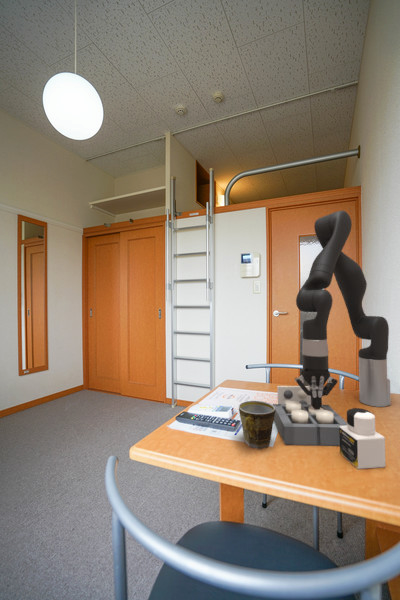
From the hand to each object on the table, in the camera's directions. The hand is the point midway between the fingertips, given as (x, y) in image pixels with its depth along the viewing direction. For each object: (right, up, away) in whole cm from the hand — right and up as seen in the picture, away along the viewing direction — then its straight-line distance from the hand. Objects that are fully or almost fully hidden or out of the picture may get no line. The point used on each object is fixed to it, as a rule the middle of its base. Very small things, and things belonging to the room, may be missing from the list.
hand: (316, 408), depth 87 cm
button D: (-8, -2, -6) cm, 10 cm away
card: (-3, -6, +12) cm, 13 cm away
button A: (0, -3, 0) cm, 3 cm away
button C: (-7, -2, +1) cm, 7 cm away
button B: (-1, -2, -7) cm, 7 cm away
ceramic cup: (-21, -6, -11) cm, 25 cm away
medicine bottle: (+3, -6, -19) cm, 20 cm away
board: (-4, -6, -3) cm, 7 cm away
